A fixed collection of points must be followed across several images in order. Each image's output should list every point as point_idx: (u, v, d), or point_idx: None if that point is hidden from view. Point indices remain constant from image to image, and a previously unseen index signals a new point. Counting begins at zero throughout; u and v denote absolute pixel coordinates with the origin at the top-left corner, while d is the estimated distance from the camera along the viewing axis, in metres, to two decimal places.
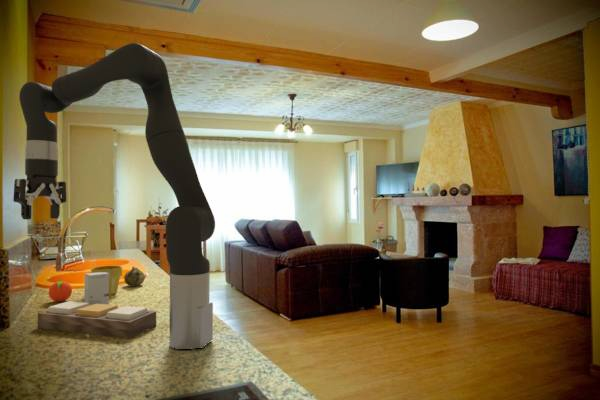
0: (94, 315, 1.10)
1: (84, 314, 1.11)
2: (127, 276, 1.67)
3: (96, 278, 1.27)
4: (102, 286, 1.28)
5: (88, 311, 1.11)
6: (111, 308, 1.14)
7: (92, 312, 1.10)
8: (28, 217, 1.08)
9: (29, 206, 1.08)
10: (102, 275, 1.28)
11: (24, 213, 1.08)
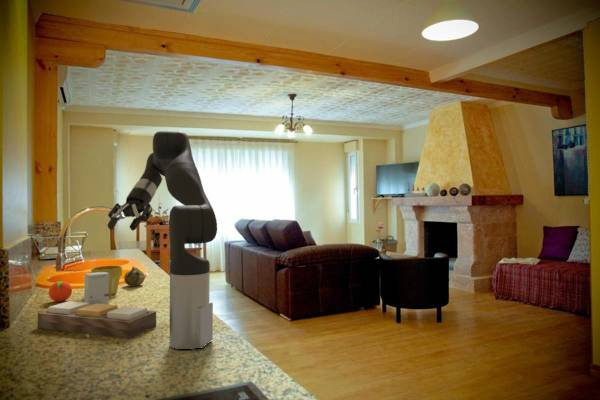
0: (94, 315, 1.10)
1: (84, 314, 1.11)
2: (127, 276, 1.67)
3: (96, 278, 1.27)
4: (102, 286, 1.28)
5: (88, 311, 1.11)
6: (111, 308, 1.14)
7: (92, 312, 1.10)
8: None
9: (112, 218, 1.42)
10: (102, 275, 1.28)
11: None
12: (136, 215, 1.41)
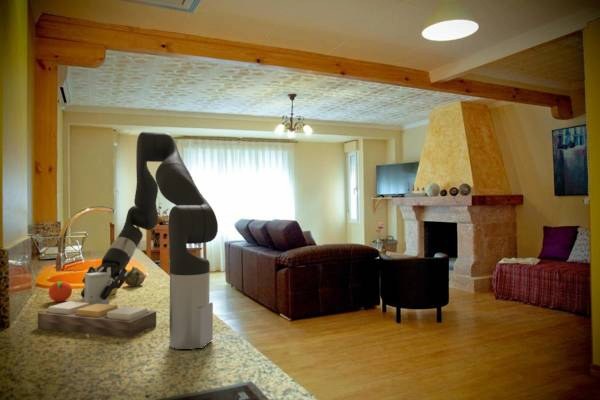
0: (94, 315, 1.10)
1: (84, 314, 1.11)
2: None
3: (96, 278, 1.27)
4: (102, 286, 1.28)
5: (88, 311, 1.11)
6: (111, 308, 1.14)
7: (92, 312, 1.10)
8: None
9: None
10: (102, 275, 1.28)
11: None
12: (108, 282, 1.28)
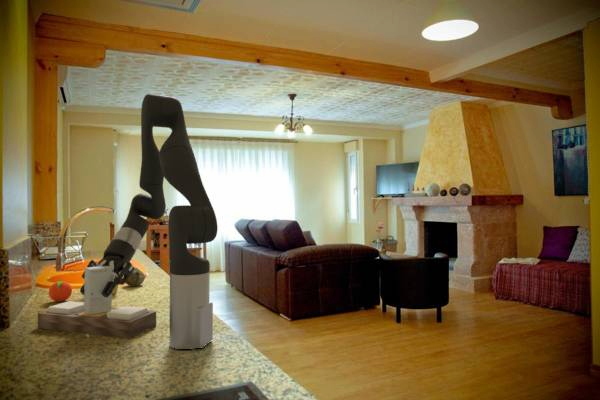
0: None
1: None
2: None
3: (97, 273, 1.12)
4: (104, 282, 1.13)
5: None
6: None
7: None
8: None
9: None
10: (104, 269, 1.13)
11: None
12: (111, 277, 1.14)
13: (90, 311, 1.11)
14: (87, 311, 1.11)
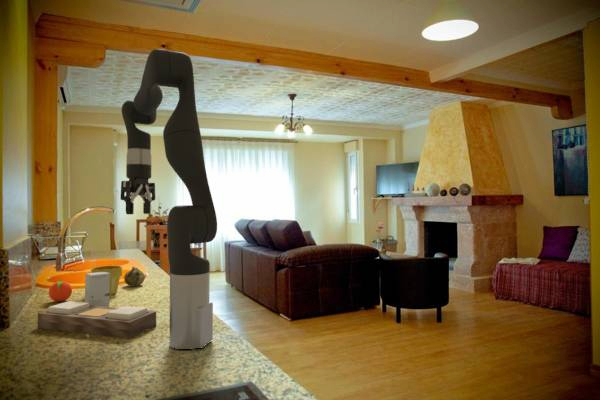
0: None
1: None
2: (127, 276, 1.67)
3: (97, 278, 1.27)
4: (102, 286, 1.28)
5: None
6: None
7: None
8: (131, 212, 1.30)
9: (132, 203, 1.31)
10: (103, 275, 1.28)
11: (128, 209, 1.30)
12: (150, 199, 1.39)
13: None
14: None
